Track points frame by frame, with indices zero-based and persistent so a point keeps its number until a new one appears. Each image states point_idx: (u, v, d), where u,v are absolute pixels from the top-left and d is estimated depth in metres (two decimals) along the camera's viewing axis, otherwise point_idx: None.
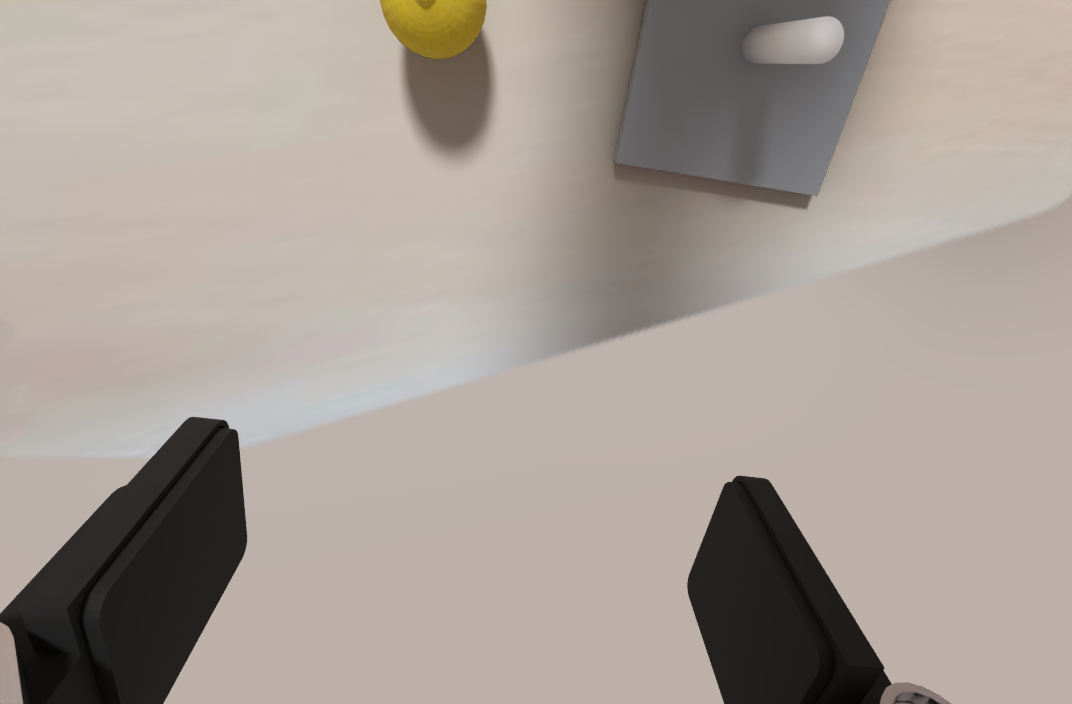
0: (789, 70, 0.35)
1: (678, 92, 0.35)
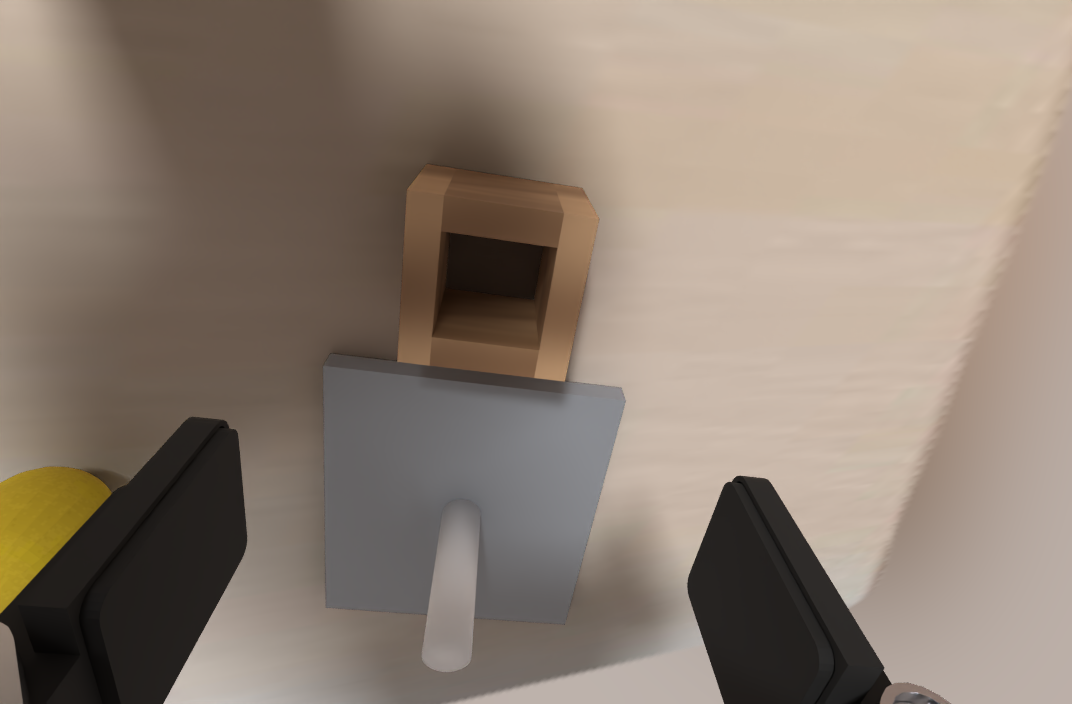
0: (503, 531, 0.31)
1: (380, 552, 0.31)
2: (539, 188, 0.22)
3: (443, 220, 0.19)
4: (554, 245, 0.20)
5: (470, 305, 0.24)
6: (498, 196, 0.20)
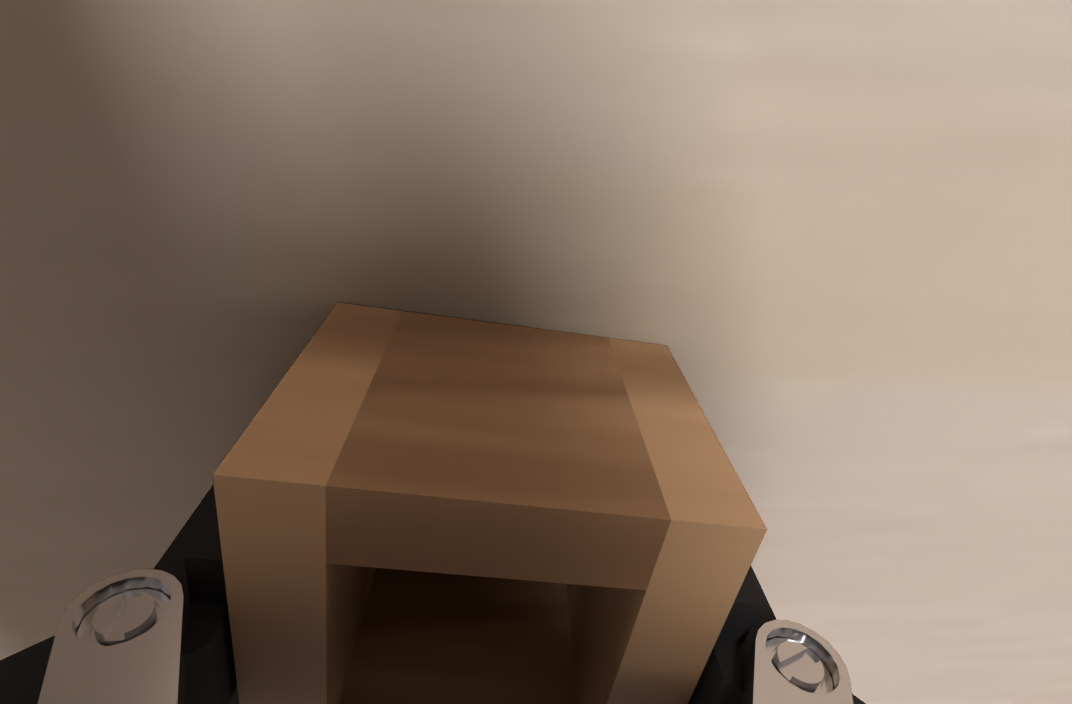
0: None
1: None
2: (583, 369, 0.10)
3: (330, 540, 0.07)
4: (638, 585, 0.07)
5: (434, 578, 0.12)
6: (488, 444, 0.08)
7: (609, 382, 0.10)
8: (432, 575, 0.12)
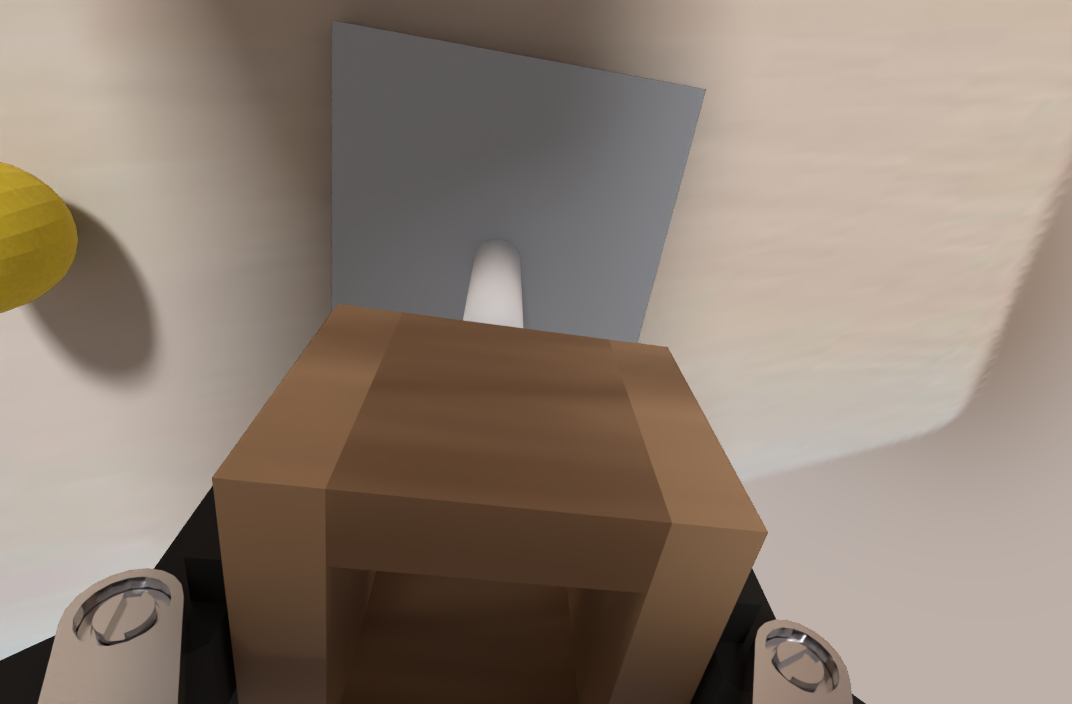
0: (547, 290, 0.25)
1: None
2: (583, 371, 0.10)
3: (330, 543, 0.07)
4: (638, 588, 0.07)
5: (435, 579, 0.12)
6: (488, 447, 0.07)
7: (610, 384, 0.10)
8: (432, 577, 0.12)
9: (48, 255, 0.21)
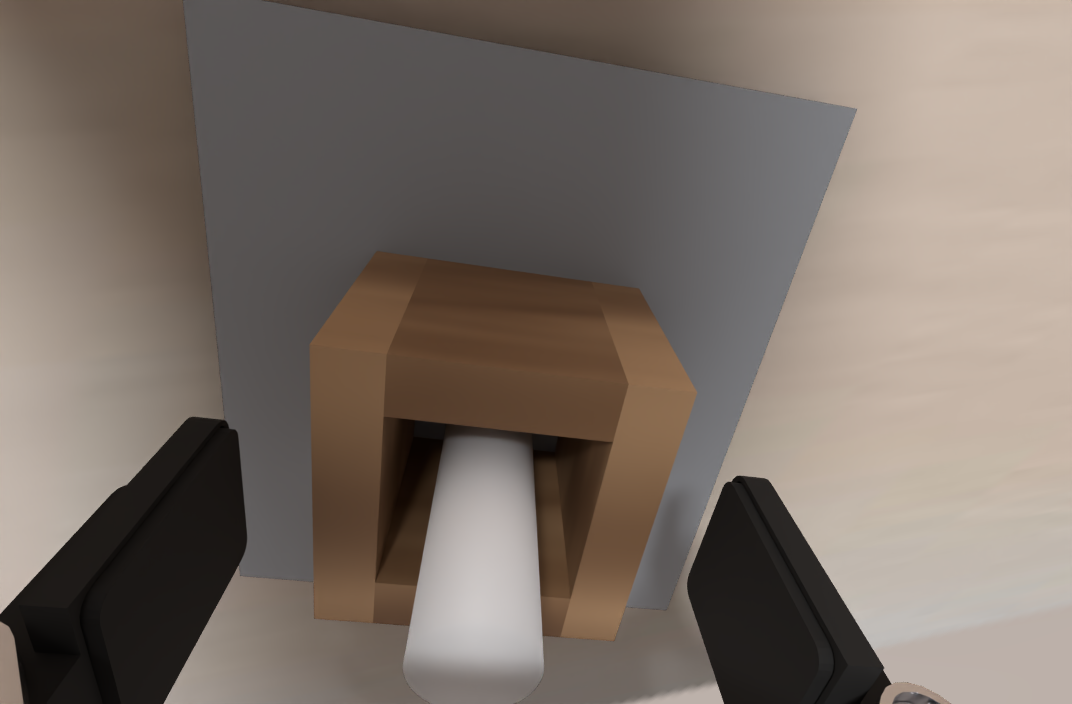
0: None
1: None
2: (570, 300, 0.13)
3: (387, 398, 0.10)
4: (606, 438, 0.10)
5: None
6: (498, 339, 0.10)
7: (590, 308, 0.12)
8: None
9: None
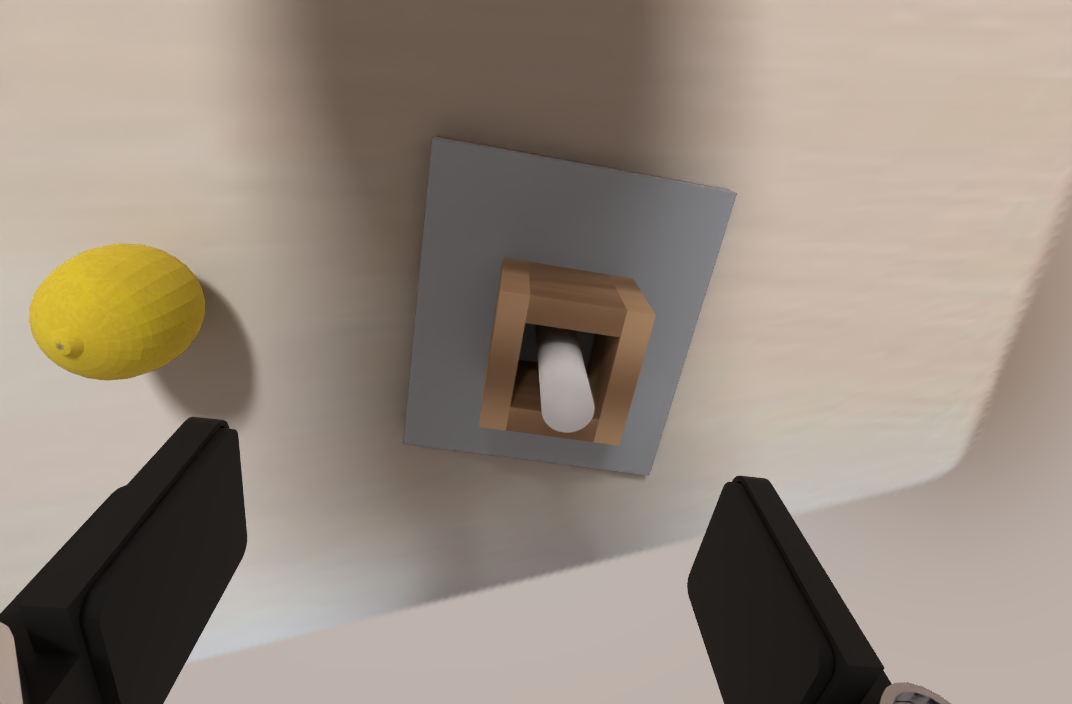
0: None
1: (466, 375, 0.30)
2: (599, 281, 0.26)
3: (528, 314, 0.23)
4: (617, 335, 0.24)
5: (535, 375, 0.28)
6: (571, 293, 0.24)
7: (609, 285, 0.26)
8: (534, 375, 0.28)
9: (189, 325, 0.25)
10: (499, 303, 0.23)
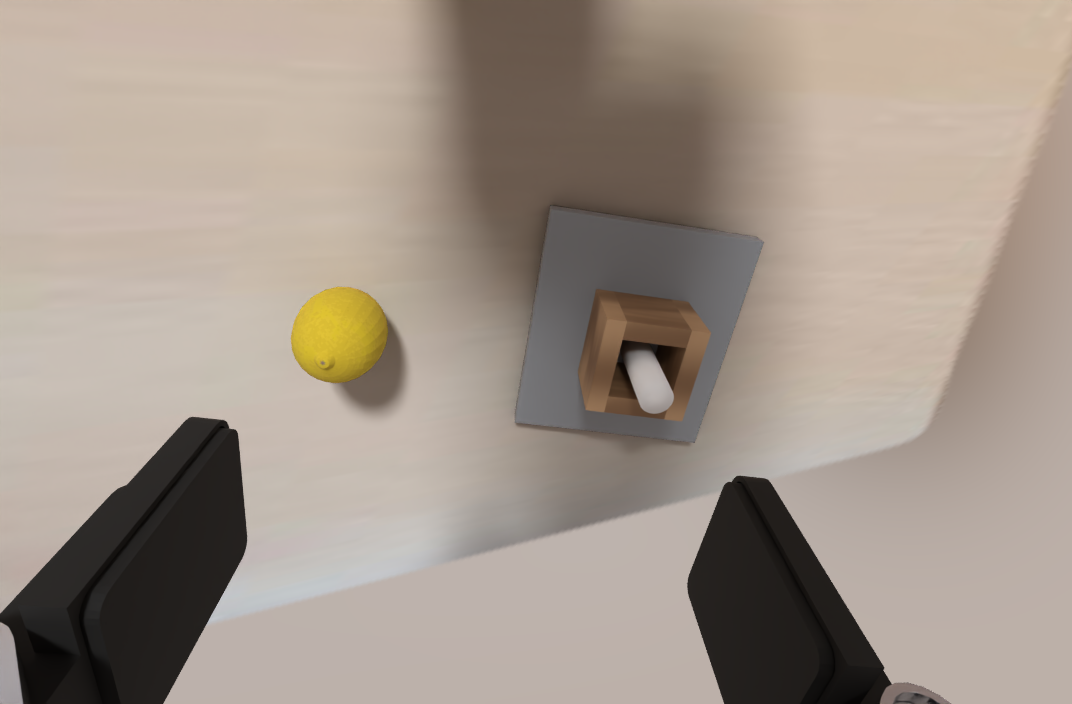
0: None
1: (564, 372, 0.41)
2: (667, 306, 0.37)
3: (624, 334, 0.34)
4: (684, 346, 0.35)
5: (617, 372, 0.39)
6: (652, 318, 0.35)
7: (674, 309, 0.37)
8: (616, 371, 0.39)
9: (384, 343, 0.36)
10: (605, 327, 0.34)
